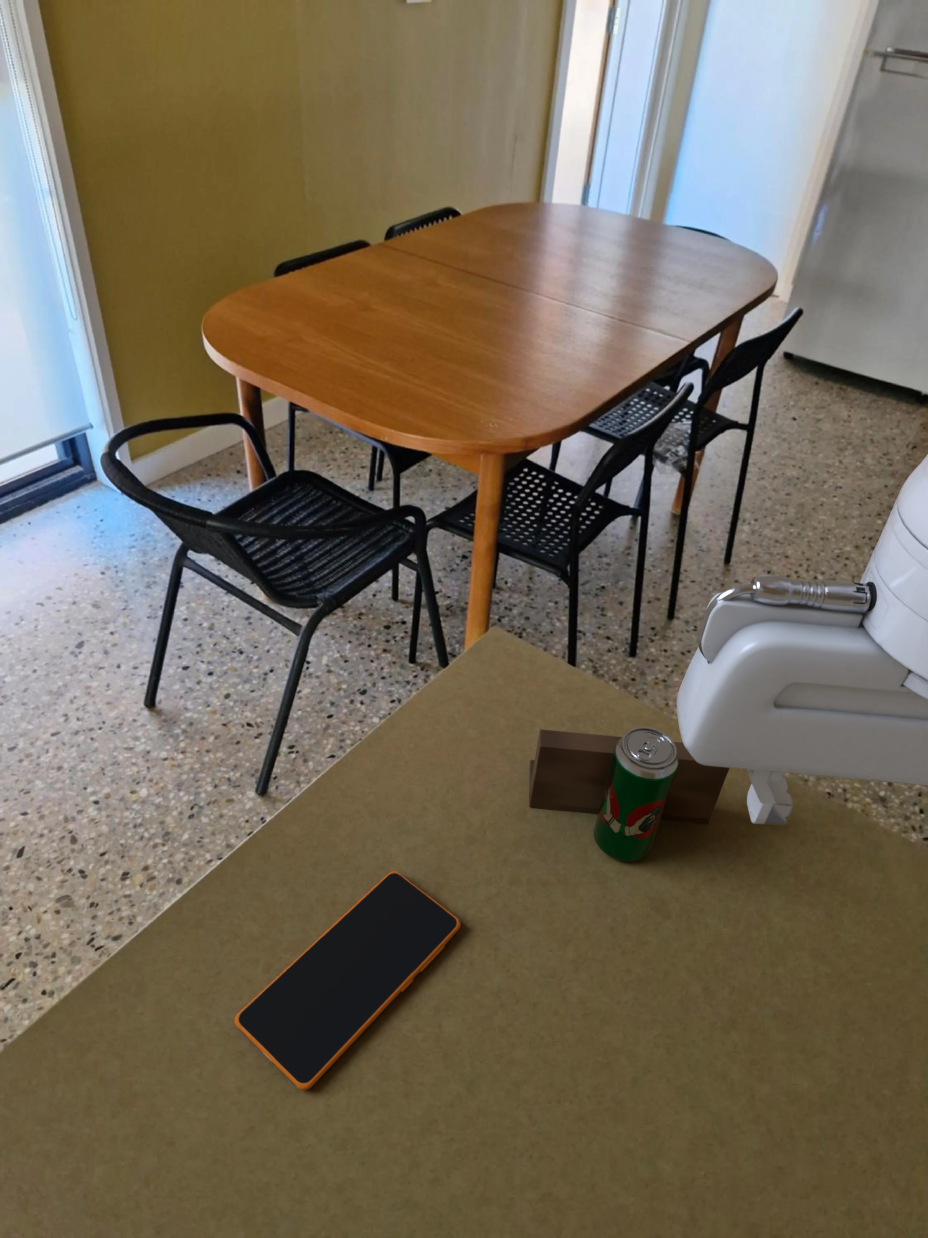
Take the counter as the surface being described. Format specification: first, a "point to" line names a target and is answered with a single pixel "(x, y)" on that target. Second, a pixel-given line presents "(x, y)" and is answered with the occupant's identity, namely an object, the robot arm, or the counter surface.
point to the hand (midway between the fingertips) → (861, 823)
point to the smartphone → (346, 979)
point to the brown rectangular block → (581, 765)
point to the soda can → (635, 793)
